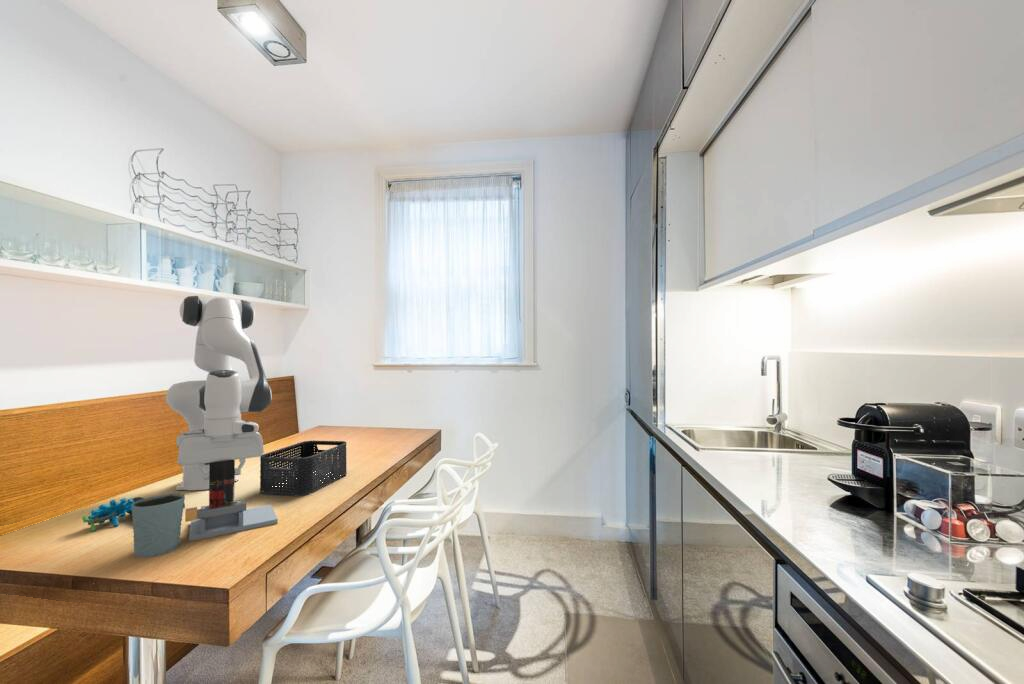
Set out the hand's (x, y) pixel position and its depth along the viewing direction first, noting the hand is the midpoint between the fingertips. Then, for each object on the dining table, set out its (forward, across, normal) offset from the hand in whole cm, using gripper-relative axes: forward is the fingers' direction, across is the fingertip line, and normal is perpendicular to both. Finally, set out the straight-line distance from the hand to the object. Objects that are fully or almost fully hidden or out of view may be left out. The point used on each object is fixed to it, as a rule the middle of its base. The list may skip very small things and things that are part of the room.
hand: (222, 476), depth 122 cm
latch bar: (+8, -1, -6) cm, 11 cm away
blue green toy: (+14, -26, +19) cm, 35 cm away
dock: (+13, +3, -1) cm, 14 cm away
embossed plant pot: (+14, -13, -10) cm, 21 cm away
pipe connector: (+14, -15, +22) cm, 30 cm away
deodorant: (+10, 0, 0) cm, 11 cm away
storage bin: (+14, +27, +30) cm, 43 cm away
